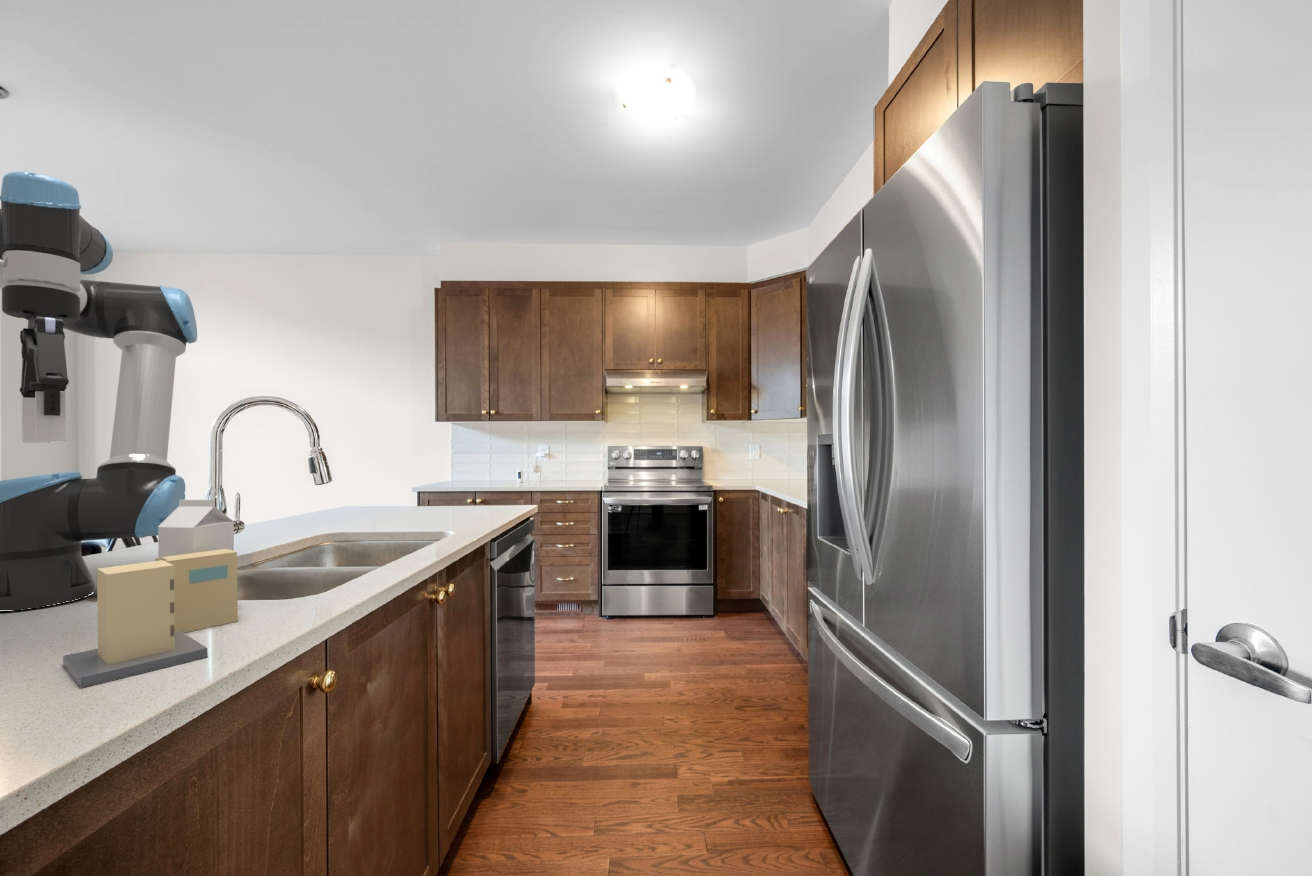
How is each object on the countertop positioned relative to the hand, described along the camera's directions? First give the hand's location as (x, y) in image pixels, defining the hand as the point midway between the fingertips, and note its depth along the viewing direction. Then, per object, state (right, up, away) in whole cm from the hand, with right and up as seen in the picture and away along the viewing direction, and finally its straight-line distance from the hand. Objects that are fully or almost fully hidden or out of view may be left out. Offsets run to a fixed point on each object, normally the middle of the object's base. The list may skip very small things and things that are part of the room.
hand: (43, 442), depth 81 cm
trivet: (+18, -28, -5) cm, 34 cm away
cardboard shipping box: (+14, -29, +9) cm, 33 cm away
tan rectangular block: (+18, -27, -5) cm, 33 cm away
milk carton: (+9, -29, +16) cm, 34 cm away
